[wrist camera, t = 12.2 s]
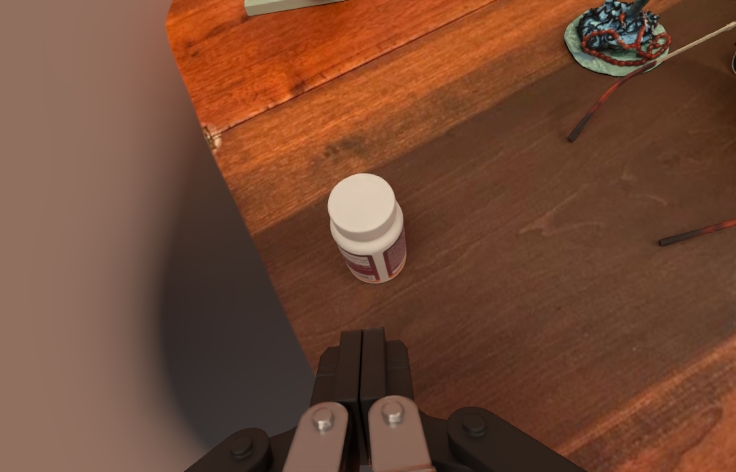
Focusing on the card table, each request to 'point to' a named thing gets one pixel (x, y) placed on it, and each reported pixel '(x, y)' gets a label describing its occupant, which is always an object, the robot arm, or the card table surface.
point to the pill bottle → (368, 227)
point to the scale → (279, 5)
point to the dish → (617, 38)
